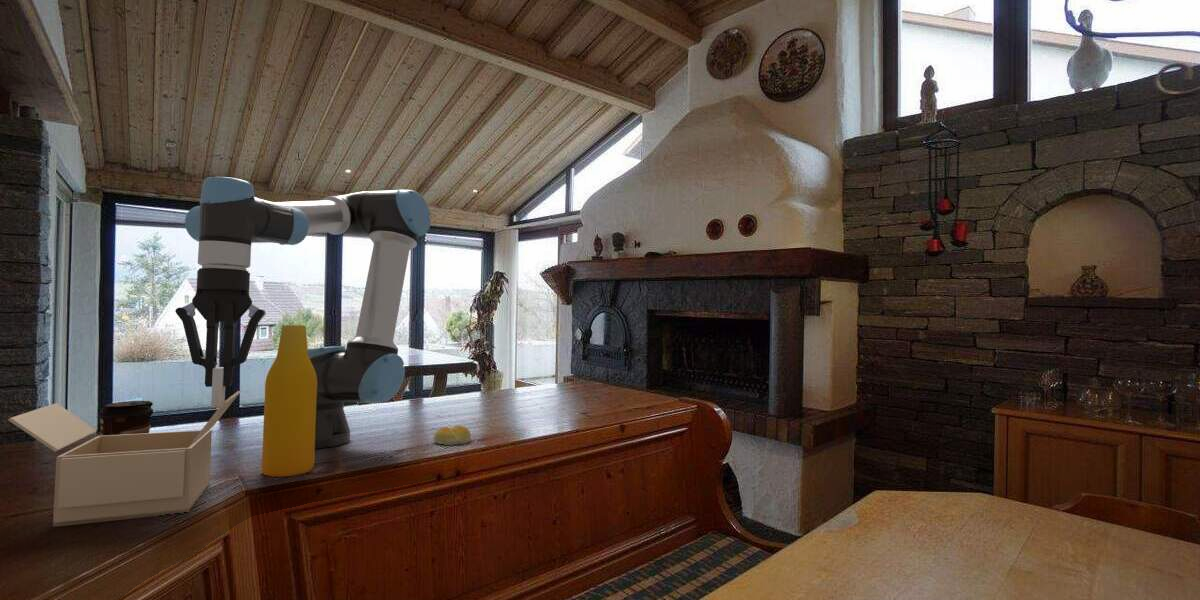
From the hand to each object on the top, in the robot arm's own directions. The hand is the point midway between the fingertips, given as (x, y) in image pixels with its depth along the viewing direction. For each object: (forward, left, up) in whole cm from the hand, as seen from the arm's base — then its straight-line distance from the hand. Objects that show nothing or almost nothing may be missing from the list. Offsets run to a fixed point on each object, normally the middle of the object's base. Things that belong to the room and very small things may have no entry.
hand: (217, 405), depth 94 cm
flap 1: (+21, 0, -2) cm, 21 cm away
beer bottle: (-10, -13, -16) cm, 23 cm away
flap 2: (0, 0, -1) cm, 1 cm away
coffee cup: (+19, -25, -16) cm, 35 cm away
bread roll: (-45, -28, -16) cm, 56 cm away
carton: (+10, 0, -15) cm, 18 cm away
